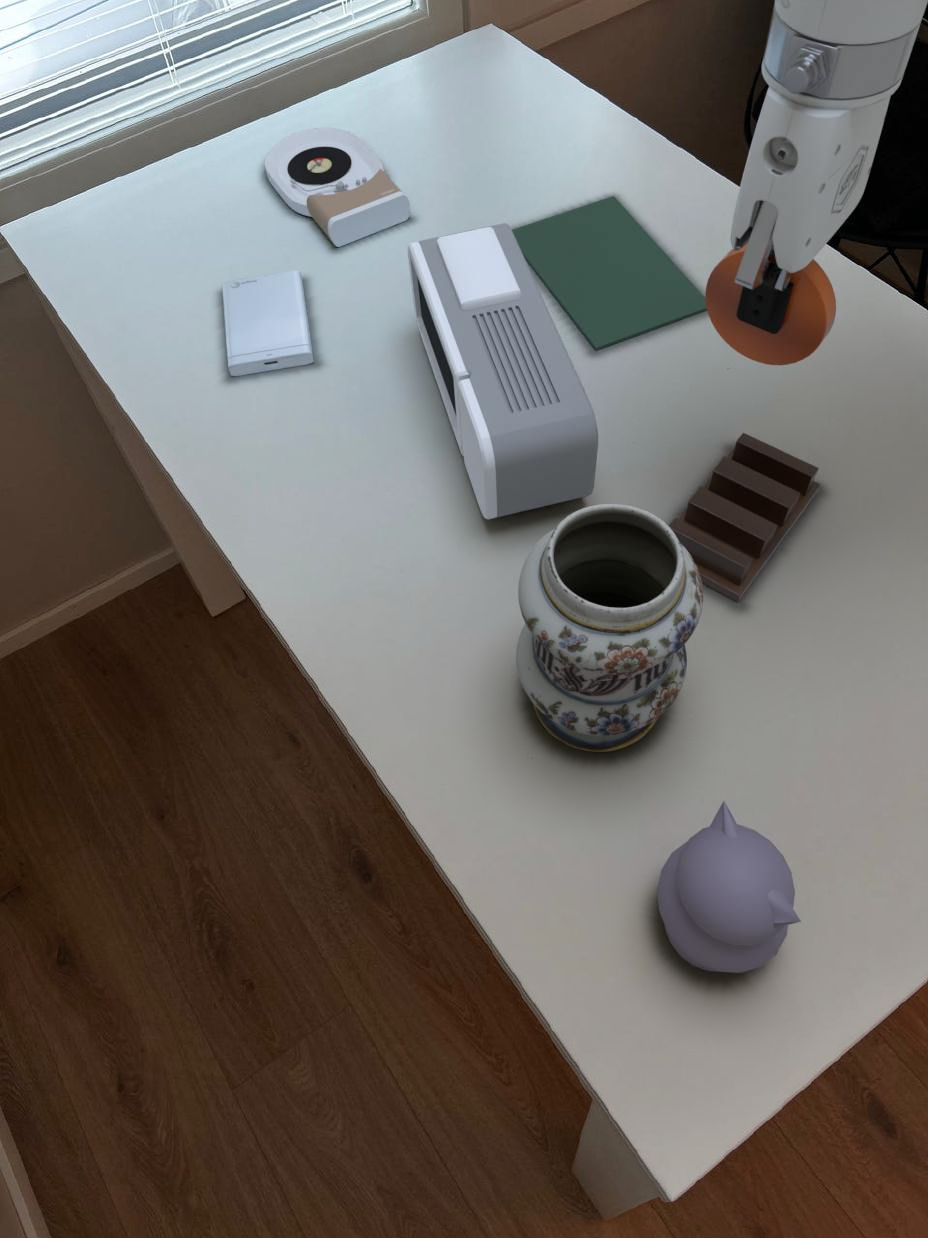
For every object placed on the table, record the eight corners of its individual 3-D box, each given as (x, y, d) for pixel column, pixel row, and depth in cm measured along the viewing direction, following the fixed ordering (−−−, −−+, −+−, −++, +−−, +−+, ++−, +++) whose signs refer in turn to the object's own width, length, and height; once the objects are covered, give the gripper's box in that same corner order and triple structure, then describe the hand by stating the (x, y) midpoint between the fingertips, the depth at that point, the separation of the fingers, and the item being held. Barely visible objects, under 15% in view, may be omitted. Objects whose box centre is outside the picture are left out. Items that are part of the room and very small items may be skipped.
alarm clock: (416, 328, 96) (403, 224, 86) (505, 308, 97) (504, 203, 87) (487, 539, 82) (483, 444, 72) (592, 514, 83) (601, 417, 73)
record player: (319, 227, 101) (246, 136, 110) (324, 252, 103) (252, 162, 113) (417, 188, 103) (337, 103, 113) (420, 214, 106) (341, 129, 116)
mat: (711, 308, 96) (712, 305, 95) (595, 350, 93) (596, 347, 93) (613, 198, 106) (613, 195, 105) (506, 234, 103) (506, 231, 103)
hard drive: (220, 281, 99) (226, 364, 93) (299, 268, 100) (311, 350, 93) (225, 294, 101) (231, 377, 94) (302, 282, 101) (314, 363, 94)
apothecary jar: (664, 623, 77) (699, 475, 62) (686, 763, 70) (731, 636, 55) (513, 629, 77) (510, 484, 62) (520, 769, 71) (520, 646, 56)
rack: (734, 451, 86) (742, 423, 83) (818, 491, 83) (829, 464, 80) (651, 556, 80) (656, 530, 77) (737, 602, 77) (746, 578, 74)
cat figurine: (626, 890, 66) (645, 829, 56) (724, 841, 67) (760, 773, 57) (694, 1010, 61) (728, 968, 51) (797, 955, 63) (850, 904, 53)
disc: (706, 324, 73) (727, 219, 65) (817, 371, 69) (853, 267, 62) (696, 336, 72) (716, 231, 64) (807, 384, 69) (842, 280, 61)
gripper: (838, 138, 48) (760, 405, 63) (963, -2, 54) (864, 272, 69) (703, 93, 50) (661, 360, 66) (837, -35, 56) (769, 236, 72)
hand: (766, 313), depth 68 cm, fingers closed on disc, 1 cm apart
